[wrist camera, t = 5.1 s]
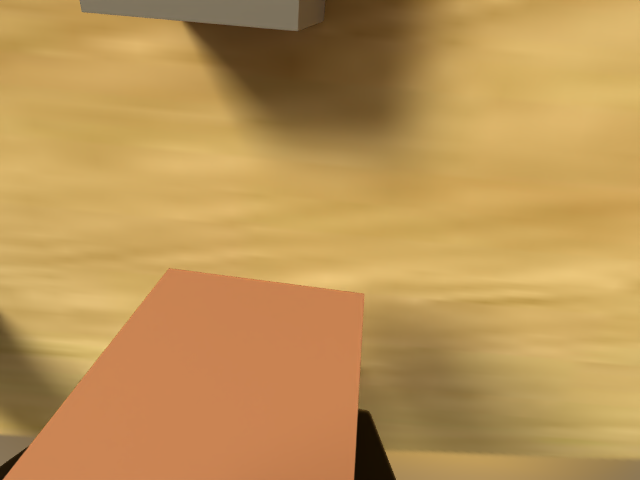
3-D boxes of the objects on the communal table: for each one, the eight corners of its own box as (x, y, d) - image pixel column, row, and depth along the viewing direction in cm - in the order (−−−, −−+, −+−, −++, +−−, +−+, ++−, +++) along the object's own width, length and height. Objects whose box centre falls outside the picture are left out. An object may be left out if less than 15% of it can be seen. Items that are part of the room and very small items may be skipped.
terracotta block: (187, 399, 12) (39, 705, 7) (169, 268, 10) (-75, 578, 4) (345, 423, 12) (316, 764, 6) (364, 293, 9) (343, 659, 4)
